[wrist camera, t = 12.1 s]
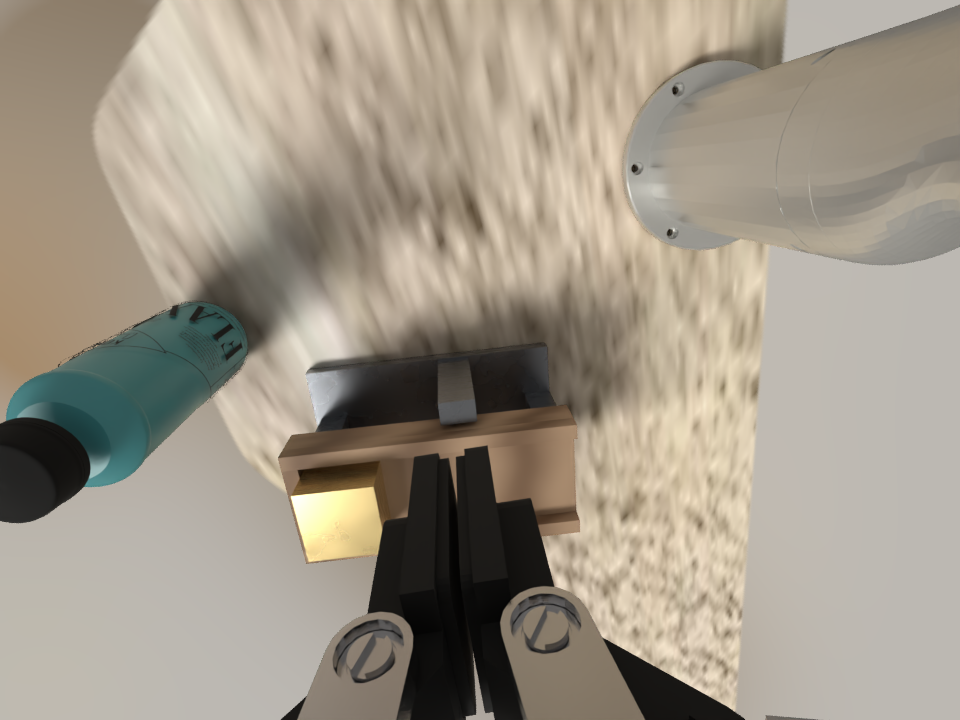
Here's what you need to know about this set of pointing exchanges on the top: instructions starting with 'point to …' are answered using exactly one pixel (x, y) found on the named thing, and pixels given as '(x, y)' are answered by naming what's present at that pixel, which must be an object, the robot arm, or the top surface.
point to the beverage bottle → (112, 406)
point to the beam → (512, 451)
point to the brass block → (341, 510)
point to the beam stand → (431, 388)
